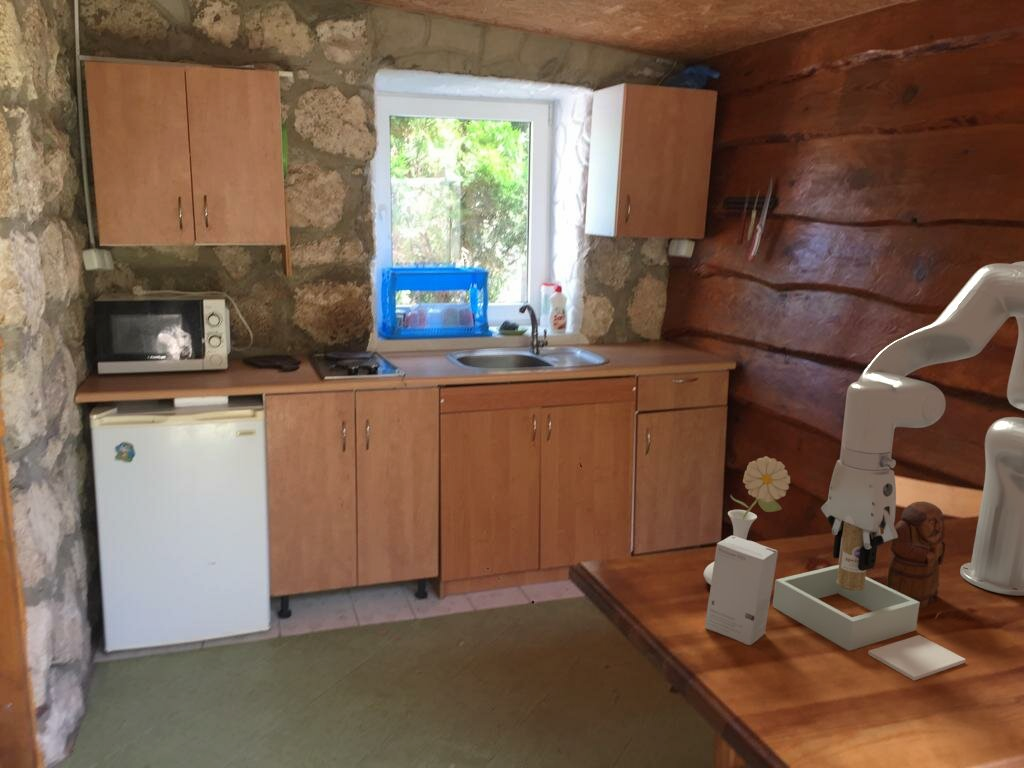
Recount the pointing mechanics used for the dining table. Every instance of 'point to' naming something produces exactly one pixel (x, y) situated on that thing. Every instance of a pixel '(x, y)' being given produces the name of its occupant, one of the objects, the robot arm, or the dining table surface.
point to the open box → (803, 605)
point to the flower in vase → (757, 496)
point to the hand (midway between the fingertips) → (853, 561)
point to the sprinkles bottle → (851, 557)
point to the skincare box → (741, 589)
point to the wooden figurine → (918, 553)
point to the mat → (916, 657)
